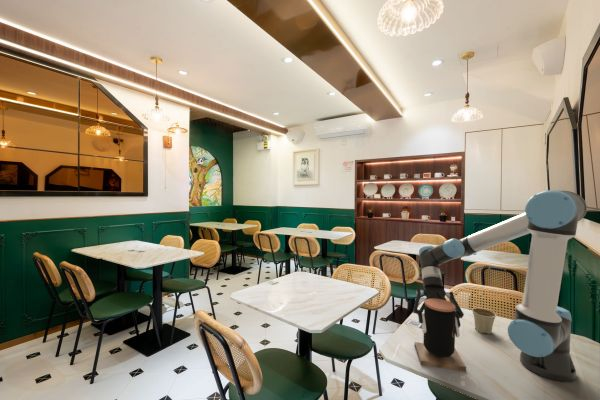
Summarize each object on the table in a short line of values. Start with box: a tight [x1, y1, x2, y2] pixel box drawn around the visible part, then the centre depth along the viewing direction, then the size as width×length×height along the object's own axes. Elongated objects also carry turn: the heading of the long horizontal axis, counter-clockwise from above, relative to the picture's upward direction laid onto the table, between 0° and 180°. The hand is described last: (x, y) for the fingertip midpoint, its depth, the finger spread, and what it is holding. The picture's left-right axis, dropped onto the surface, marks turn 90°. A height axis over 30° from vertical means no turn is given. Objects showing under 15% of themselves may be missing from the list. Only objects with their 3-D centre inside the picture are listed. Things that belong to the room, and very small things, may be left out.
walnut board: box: [414, 341, 467, 372], centre depth 105 cm, size 15×13×2 cm
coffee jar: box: [422, 298, 456, 357], centre depth 105 cm, size 11×11×18 cm
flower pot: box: [471, 307, 497, 335], centre depth 126 cm, size 9×9×9 cm
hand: (441, 334), depth 102 cm, fingers closed on coffee jar, 11 cm apart
